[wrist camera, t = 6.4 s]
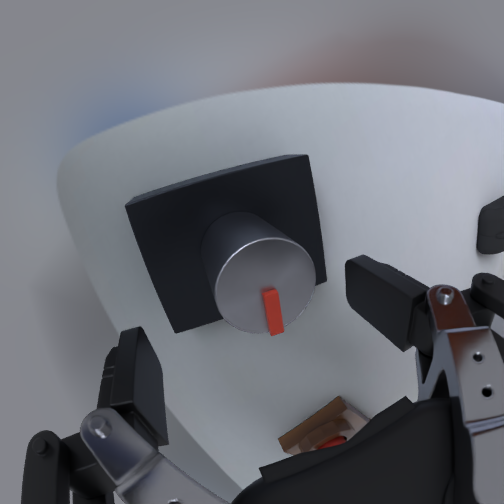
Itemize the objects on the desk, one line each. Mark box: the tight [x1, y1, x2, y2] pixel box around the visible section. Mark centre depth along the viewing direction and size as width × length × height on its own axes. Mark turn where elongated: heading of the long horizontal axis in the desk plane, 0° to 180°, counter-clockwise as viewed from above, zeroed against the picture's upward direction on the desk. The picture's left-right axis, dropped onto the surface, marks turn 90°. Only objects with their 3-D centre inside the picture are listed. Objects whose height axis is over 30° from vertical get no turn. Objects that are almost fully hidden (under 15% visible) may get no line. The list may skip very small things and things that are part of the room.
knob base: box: [125, 155, 327, 333], centre depth 16 cm, size 10×8×3 cm
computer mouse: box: [477, 196, 504, 254], centre depth 25 cm, size 6×11×4 cm, turn 103°
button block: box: [278, 396, 370, 455], centre depth 28 cm, size 17×9×4 cm, turn 38°
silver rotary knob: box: [201, 212, 316, 336], centre depth 12 cm, size 4×4×5 cm
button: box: [317, 436, 346, 450], centre depth 24 cm, size 4×4×2 cm
